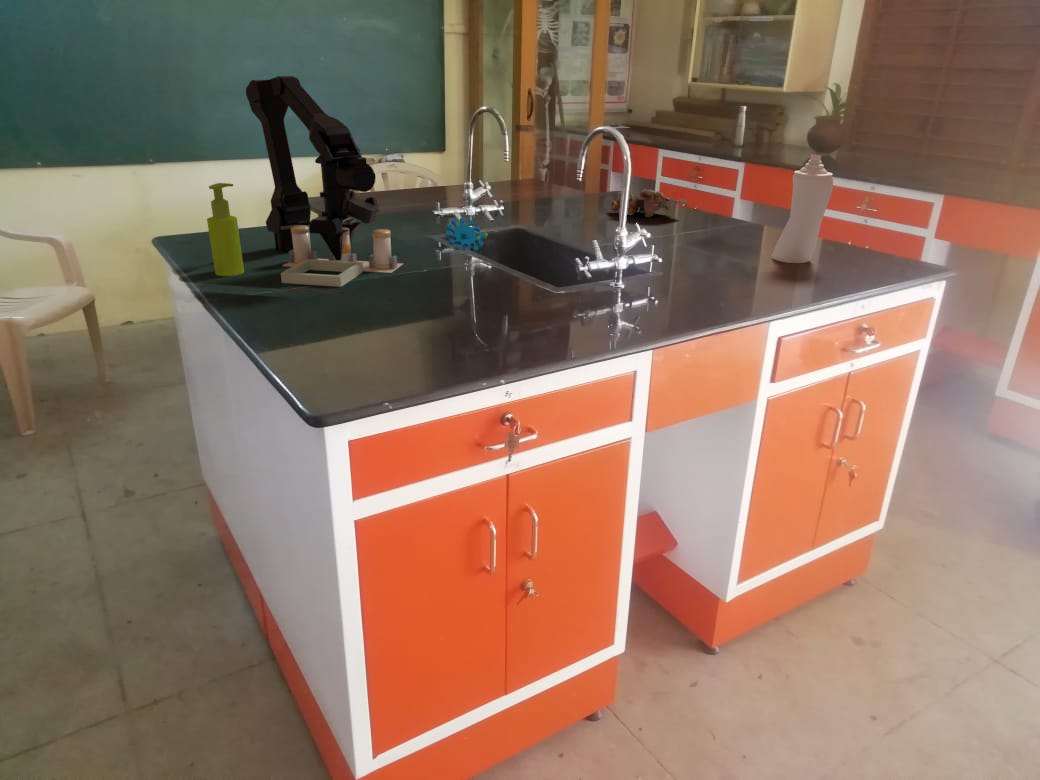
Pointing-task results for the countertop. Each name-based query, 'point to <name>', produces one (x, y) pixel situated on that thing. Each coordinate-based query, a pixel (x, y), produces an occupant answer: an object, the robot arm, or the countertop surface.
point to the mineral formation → (646, 202)
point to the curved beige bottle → (805, 212)
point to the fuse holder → (366, 265)
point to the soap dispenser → (224, 236)
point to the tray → (300, 277)
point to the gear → (465, 235)
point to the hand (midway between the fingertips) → (342, 257)
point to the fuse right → (382, 249)
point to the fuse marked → (345, 247)
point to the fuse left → (301, 243)
